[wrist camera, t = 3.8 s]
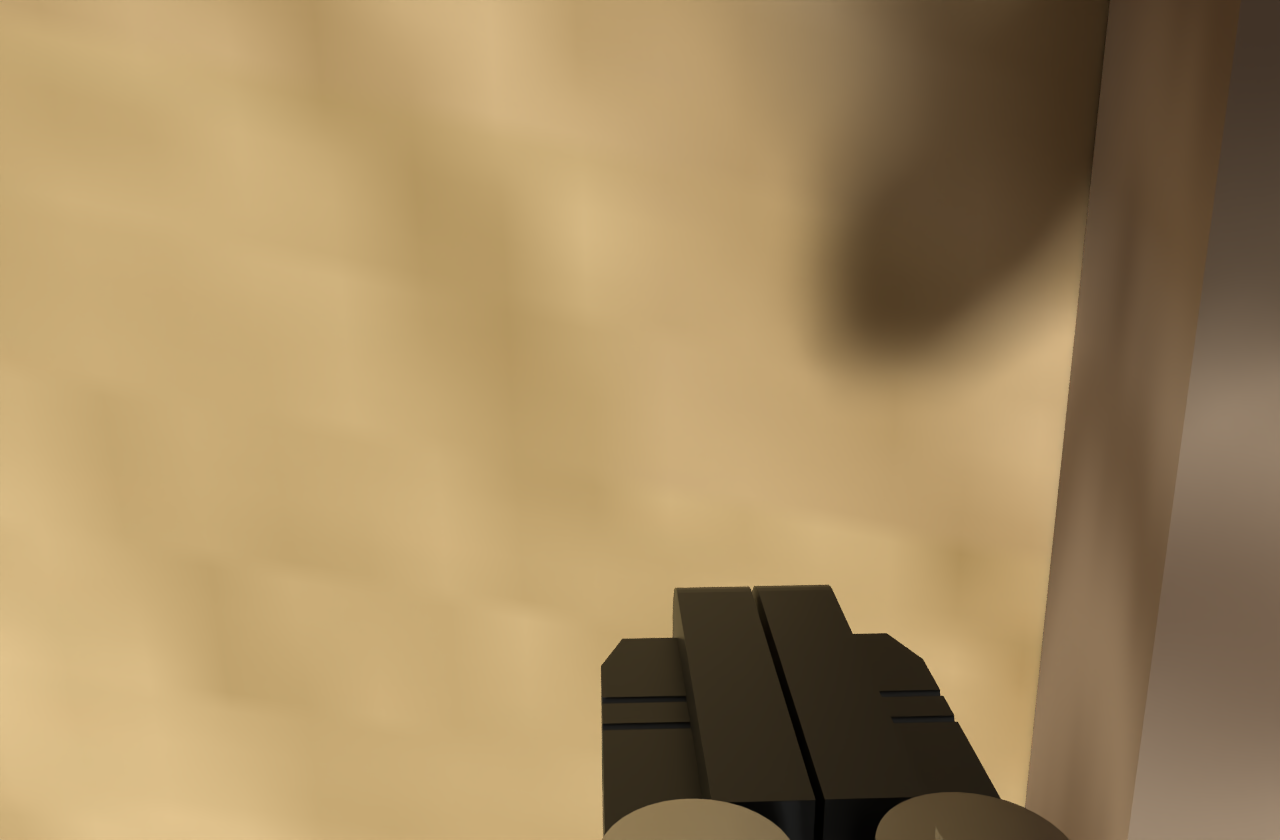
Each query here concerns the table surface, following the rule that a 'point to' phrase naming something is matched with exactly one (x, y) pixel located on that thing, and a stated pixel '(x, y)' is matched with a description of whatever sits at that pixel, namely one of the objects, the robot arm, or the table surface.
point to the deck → (1172, 446)
